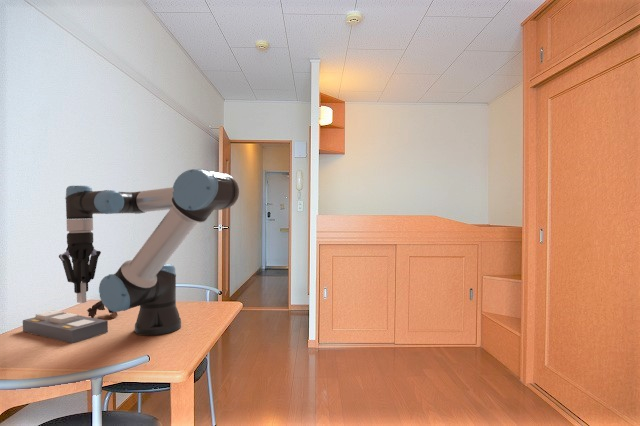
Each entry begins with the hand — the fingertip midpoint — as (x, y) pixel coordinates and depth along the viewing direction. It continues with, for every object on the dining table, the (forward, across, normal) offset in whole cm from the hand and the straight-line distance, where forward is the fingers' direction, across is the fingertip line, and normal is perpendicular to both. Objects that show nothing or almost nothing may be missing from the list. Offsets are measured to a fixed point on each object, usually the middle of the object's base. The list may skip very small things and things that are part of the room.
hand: (81, 302), depth 127 cm
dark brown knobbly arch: (+11, -18, -14) cm, 26 cm away
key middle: (+9, 0, -9) cm, 13 cm away
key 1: (+9, 0, -18) cm, 20 cm away
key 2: (+10, 0, 0) cm, 10 cm away
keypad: (+11, 0, -10) cm, 15 cm away
